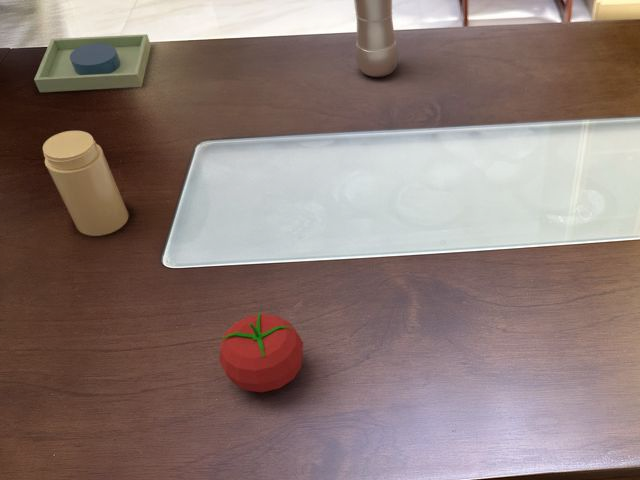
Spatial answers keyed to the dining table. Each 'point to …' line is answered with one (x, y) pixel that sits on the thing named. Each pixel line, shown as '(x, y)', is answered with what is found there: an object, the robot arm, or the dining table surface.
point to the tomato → (261, 353)
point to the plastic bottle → (375, 37)
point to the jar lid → (95, 59)
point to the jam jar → (85, 182)
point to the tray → (62, 76)
